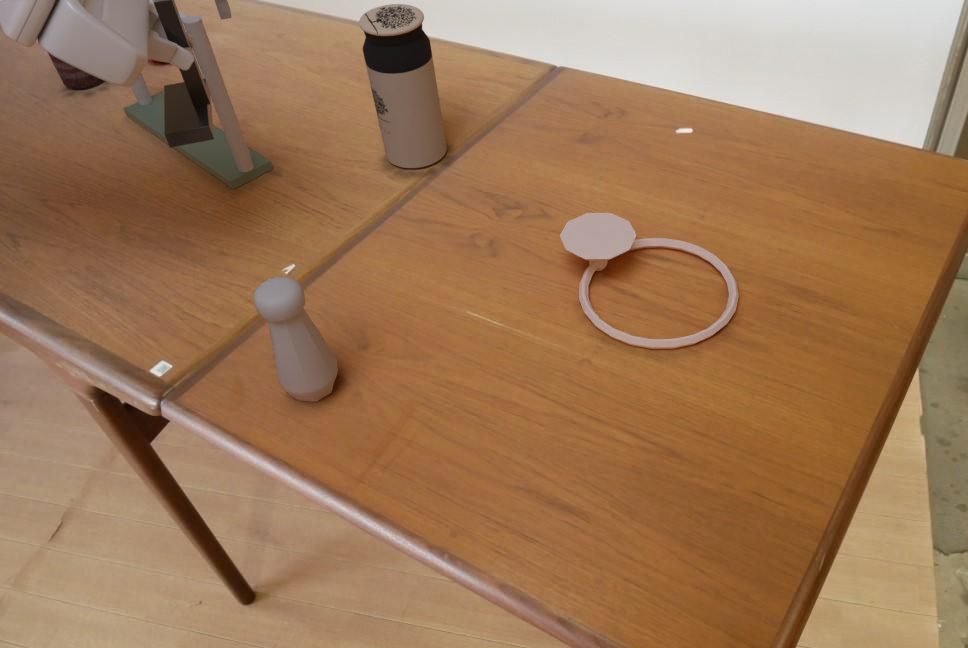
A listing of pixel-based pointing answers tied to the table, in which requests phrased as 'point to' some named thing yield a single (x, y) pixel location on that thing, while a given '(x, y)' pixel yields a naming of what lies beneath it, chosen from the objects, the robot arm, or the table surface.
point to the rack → (228, 147)
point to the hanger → (186, 85)
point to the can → (74, 75)
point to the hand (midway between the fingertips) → (191, 54)
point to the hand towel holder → (615, 236)
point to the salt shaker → (295, 341)
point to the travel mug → (403, 85)
